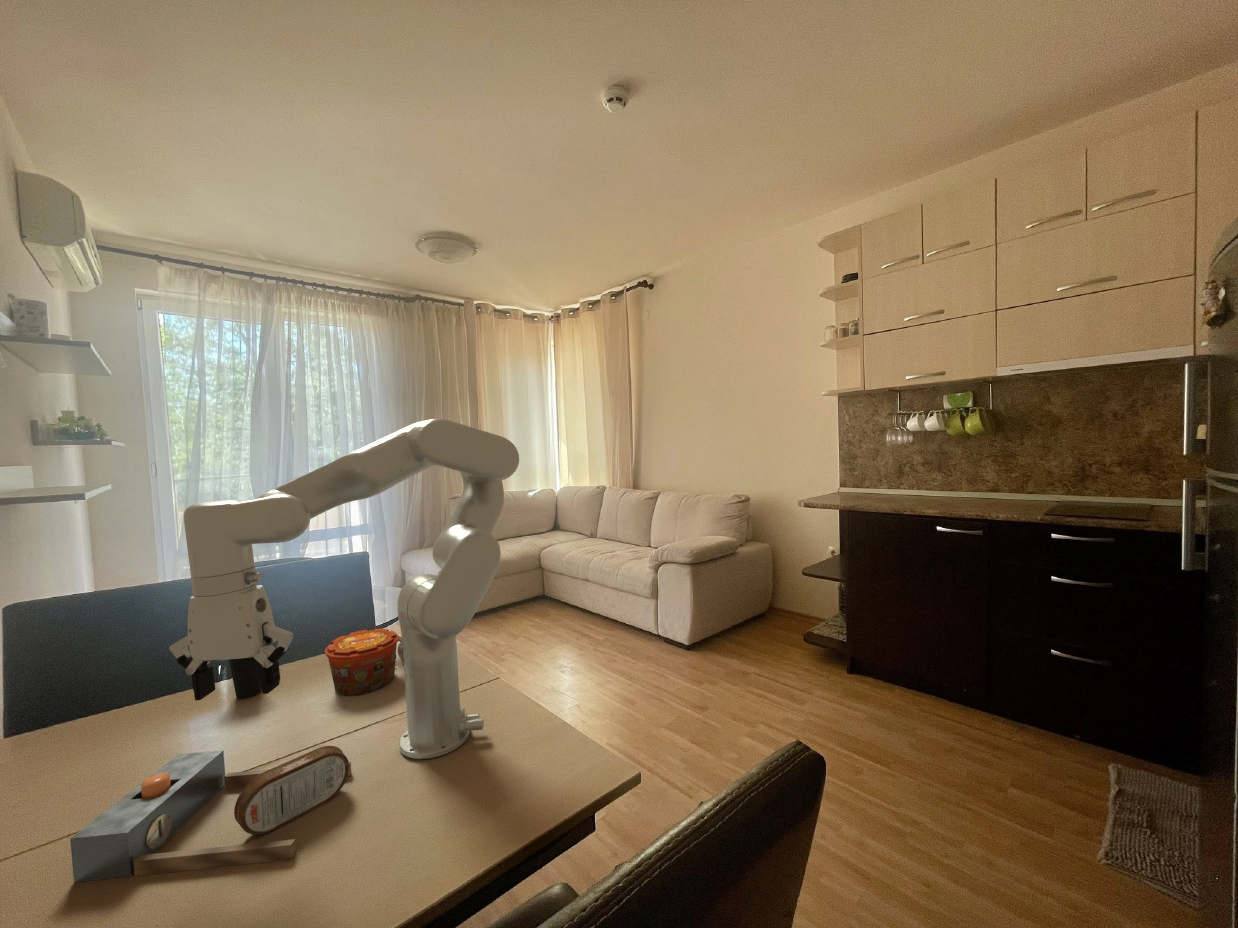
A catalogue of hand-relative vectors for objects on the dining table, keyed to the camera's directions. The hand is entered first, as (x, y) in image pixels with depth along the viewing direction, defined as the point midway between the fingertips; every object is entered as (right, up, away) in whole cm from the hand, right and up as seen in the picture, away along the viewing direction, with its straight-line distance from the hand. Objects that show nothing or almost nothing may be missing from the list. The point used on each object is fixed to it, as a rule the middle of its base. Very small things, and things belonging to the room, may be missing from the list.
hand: (238, 692), depth 75 cm
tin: (+8, -20, +1) cm, 21 cm away
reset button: (-12, -17, -1) cm, 20 cm away
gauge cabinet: (-11, -20, -1) cm, 23 cm away
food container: (-3, -18, +44) cm, 48 cm away
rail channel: (+2, -20, 0) cm, 20 cm away
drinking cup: (-29, -20, +41) cm, 54 cm away
